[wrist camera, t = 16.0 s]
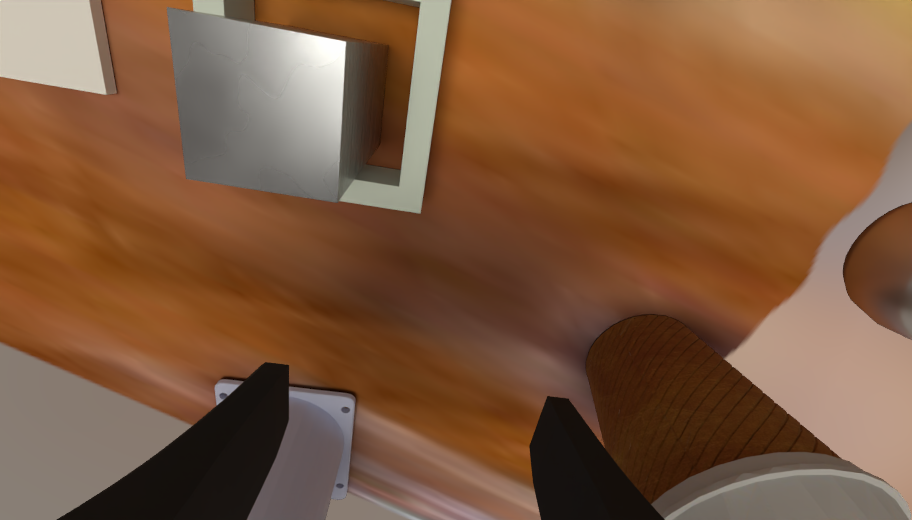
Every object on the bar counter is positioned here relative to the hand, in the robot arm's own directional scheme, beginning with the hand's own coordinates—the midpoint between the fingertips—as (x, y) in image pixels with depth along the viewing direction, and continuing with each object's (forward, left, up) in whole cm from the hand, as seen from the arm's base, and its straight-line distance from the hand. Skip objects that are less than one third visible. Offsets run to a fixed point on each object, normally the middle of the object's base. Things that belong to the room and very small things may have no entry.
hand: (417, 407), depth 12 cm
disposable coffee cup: (-5, -13, -11) cm, 18 cm away
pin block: (+7, +5, -10) cm, 13 cm away
